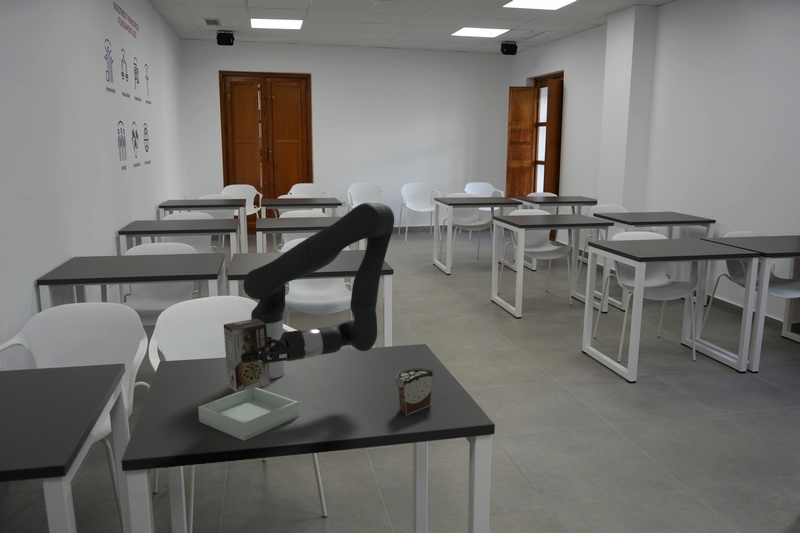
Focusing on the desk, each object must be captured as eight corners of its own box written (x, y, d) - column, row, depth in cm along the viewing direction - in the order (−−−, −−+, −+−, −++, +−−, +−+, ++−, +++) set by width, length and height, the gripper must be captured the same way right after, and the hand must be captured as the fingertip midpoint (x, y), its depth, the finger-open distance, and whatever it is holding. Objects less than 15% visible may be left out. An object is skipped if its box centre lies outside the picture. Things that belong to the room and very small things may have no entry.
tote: (199, 421, 162) (198, 406, 161) (253, 400, 175) (253, 386, 175) (244, 440, 151) (243, 424, 151) (299, 416, 165) (298, 401, 164)
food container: (418, 397, 177) (418, 363, 175) (434, 404, 173) (434, 368, 171) (385, 410, 169) (385, 374, 167) (401, 417, 164) (402, 380, 163)
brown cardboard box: (260, 377, 167) (257, 317, 164) (270, 385, 162) (267, 323, 159) (226, 385, 162) (222, 323, 159) (235, 393, 157) (231, 329, 154)
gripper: (292, 323, 172) (230, 332, 165) (310, 337, 160) (244, 347, 152) (293, 350, 174) (232, 360, 166) (311, 366, 161) (246, 377, 154)
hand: (238, 354), depth 159 cm, fingers closed on brown cardboard box, 7 cm apart
